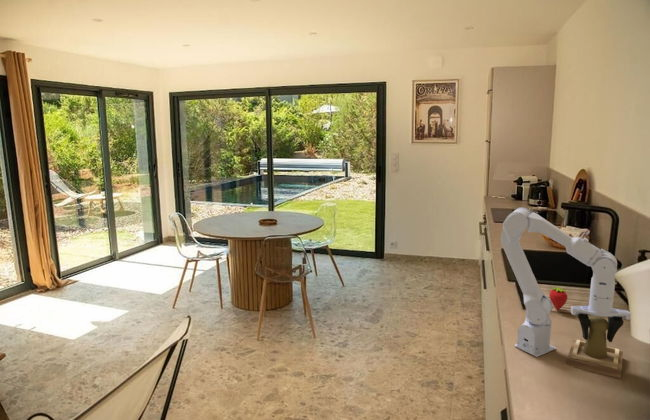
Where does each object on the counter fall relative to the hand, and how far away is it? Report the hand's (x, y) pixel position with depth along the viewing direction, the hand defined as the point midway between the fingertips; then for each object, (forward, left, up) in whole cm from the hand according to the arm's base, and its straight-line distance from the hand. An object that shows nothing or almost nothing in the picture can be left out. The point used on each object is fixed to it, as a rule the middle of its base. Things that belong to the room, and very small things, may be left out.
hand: (597, 339), depth 127 cm
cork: (+1, +1, -5) cm, 5 cm away
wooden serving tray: (0, 0, -7) cm, 7 cm away
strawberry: (+25, +28, -7) cm, 38 cm away
